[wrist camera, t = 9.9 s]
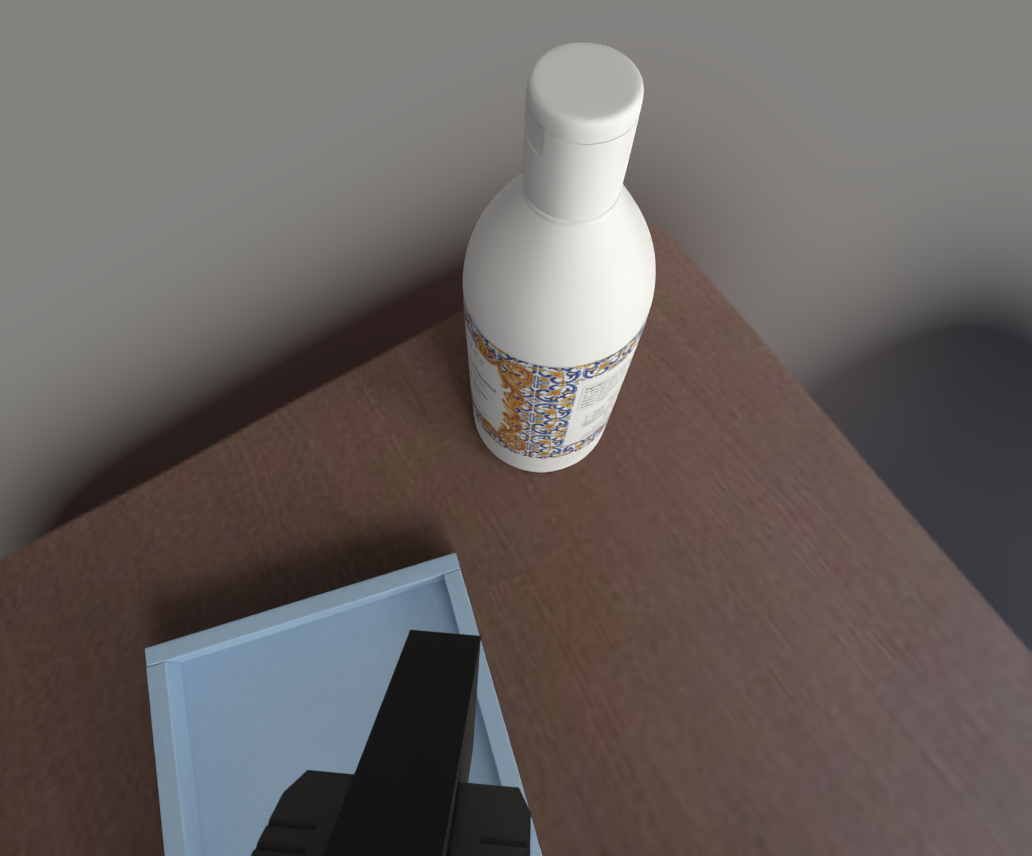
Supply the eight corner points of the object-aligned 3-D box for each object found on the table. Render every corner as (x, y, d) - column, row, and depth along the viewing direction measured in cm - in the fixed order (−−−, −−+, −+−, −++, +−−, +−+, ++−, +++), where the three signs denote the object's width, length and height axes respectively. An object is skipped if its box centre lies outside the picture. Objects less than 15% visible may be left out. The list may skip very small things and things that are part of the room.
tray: (167, 651, 29) (143, 648, 27) (458, 561, 31) (455, 551, 29) (207, 1016, 24) (182, 1043, 22) (549, 882, 26) (553, 896, 24)
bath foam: (454, 381, 35) (405, 23, 17) (571, 339, 36) (646, -38, 18) (503, 495, 33) (509, 225, 14) (627, 447, 34) (781, 139, 15)
